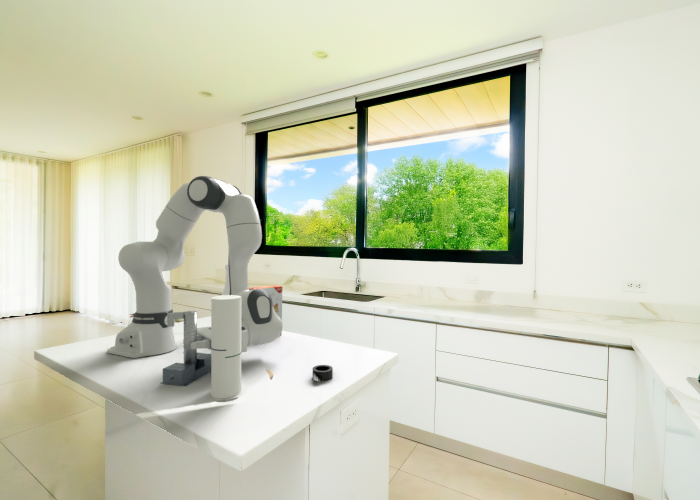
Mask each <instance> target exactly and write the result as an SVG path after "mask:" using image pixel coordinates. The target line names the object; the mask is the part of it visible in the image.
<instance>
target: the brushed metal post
mask: <svg viewBox="0 0 700 500" xmlns="http://www.w3.org/2000/svg"><path fill="white" fill-rule="evenodd" d="M197 315H198V312H197V310H188V311H177V312H175V311H173V313H168V314H167V327H173V328H174V327H175V320H182V319H183V340H184V344H183V363H185V364H195V369H197V353H198V351H197V350H198V348H197V349H191V348H189V343H190V342H193V341H197V328H198V327H197V325H198V316H197Z"/></svg>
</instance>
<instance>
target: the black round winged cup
mask: <svg viewBox="0 0 700 500" xmlns="http://www.w3.org/2000/svg"><path fill="white" fill-rule="evenodd" d="M333 370H334V369H333V366H331V365H328V364H317V365H315V366H313V367H312V380H313V381H315V382H318V383H319V382H328V381H330V380H331V381H332V379H333V375H334V374H333Z"/></svg>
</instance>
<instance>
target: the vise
mask: <svg viewBox="0 0 700 500" xmlns="http://www.w3.org/2000/svg"><path fill="white" fill-rule="evenodd" d="M209 373H211V353H206V352H205V353H204V352H203V353H202V352H197V369H195V364H185V363H184V362H175V363H172V364H170V365H168V366H166V367H164V368H162V381H161V382H159V384H162V385H171V386H178V387H179V386H180V387H181V386H182V387H187V386H188V385H191V384H192V383H194V382H195V381H197V380H199V379H200V378H202V377H204V376H206V375H208V374H209Z"/></svg>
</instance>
